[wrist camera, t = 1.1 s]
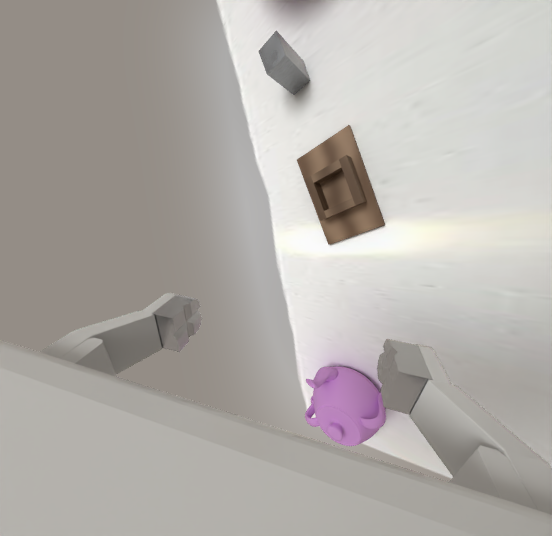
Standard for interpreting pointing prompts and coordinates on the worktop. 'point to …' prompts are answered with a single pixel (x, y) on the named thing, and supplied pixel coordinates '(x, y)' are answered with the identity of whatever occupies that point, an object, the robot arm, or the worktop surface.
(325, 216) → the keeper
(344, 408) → the teapot
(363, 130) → the worktop surface
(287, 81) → the metal bar
